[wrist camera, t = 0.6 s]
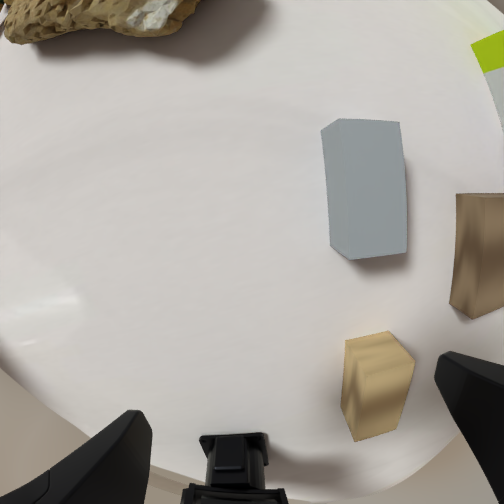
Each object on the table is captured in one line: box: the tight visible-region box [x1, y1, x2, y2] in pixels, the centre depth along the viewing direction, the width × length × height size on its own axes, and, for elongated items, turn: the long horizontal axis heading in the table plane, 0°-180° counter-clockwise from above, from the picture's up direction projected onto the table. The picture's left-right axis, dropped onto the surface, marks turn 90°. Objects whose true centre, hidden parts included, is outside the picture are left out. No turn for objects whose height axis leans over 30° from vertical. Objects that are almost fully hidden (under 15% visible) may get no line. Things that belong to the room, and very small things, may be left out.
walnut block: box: [449, 193, 504, 320], centre depth 18 cm, size 10×8×4 cm
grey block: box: [321, 119, 407, 260], centre depth 16 cm, size 8×4×4 cm, turn 6°
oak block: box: [341, 331, 415, 442], centre depth 20 cm, size 8×4×5 cm, turn 7°
